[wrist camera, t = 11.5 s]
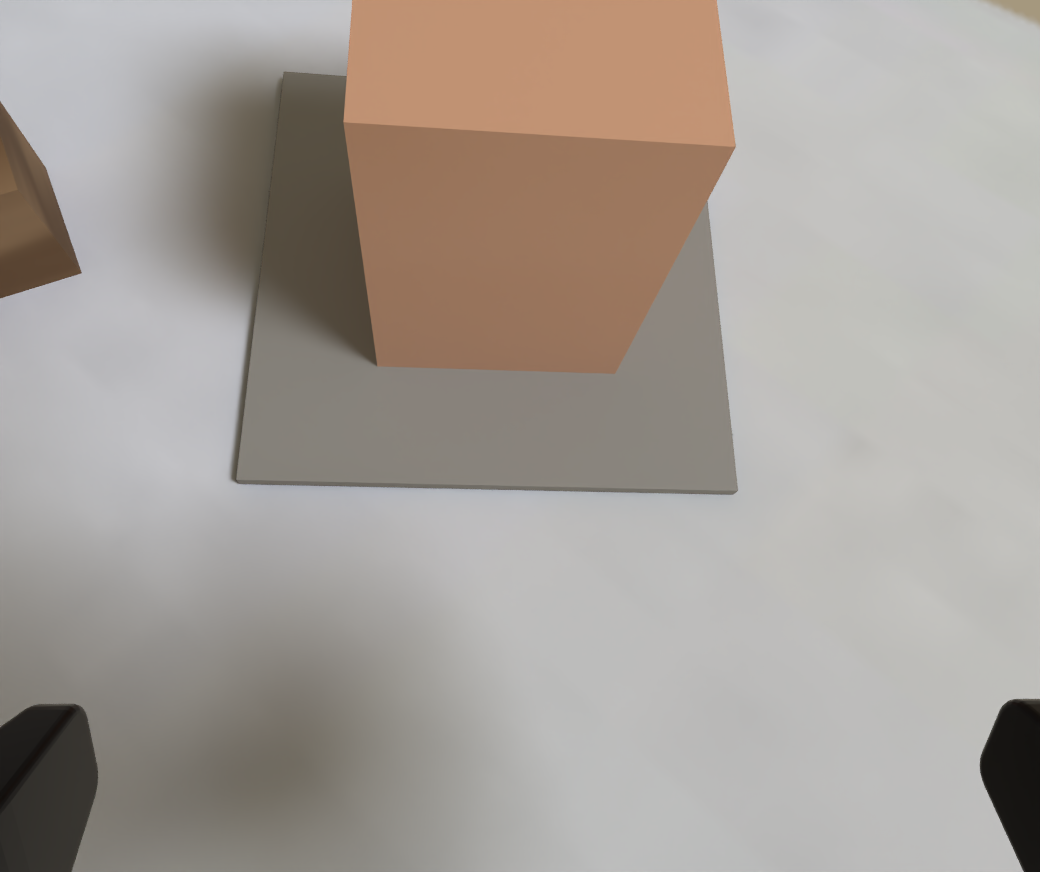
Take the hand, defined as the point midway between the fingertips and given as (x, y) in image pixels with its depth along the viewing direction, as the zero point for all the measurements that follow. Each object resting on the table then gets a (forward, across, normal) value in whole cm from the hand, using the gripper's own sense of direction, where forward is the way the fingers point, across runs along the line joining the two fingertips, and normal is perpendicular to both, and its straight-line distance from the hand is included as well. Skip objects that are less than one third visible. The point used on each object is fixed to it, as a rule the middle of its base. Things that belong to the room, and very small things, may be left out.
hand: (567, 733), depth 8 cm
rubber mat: (+19, 0, 0) cm, 19 cm away
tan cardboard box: (+19, 0, 0) cm, 19 cm away
